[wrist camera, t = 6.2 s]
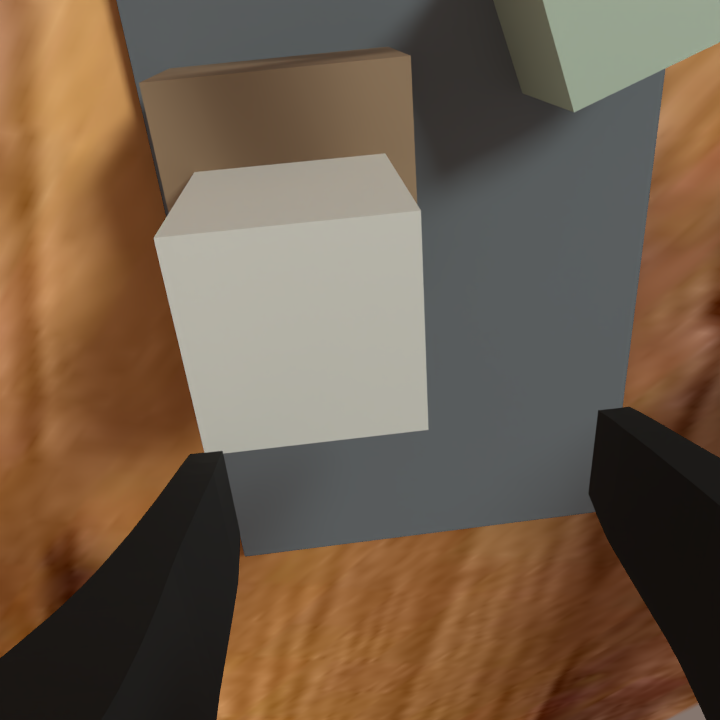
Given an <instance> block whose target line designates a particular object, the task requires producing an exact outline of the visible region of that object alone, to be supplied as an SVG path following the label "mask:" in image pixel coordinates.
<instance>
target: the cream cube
mask: <svg viewBox="0 0 720 720" xmlns="http://www.w3.org/2000/svg"><path fill="white" fill-rule="evenodd" d="M154 242H155V246H156V251H157V255H158V259H159V263H160V267H161V272H162V276H163V280H164V284H165V288H166V293H167V297H168V301H169V305H170V310H171V314H172V318H173V322H174V326H175V331H176V335H177V339H178V343H179V347H180V352H181V356H182V360H183V364H184V369H185V373H186V377H187V381H188V385H189V390H190V394H191V398H192V402H193V406H194V411H195V415H196V419H197V423H198V428H199V432H200V436H201V440H202V444H203V449H204V453H207V452H216V451H223V454H224V453H232V452H241V451H250V450H258V449H267V448H276V447H284V446H293V445H302V444H310V443H319V442H328V441H336V440H345V439H354V438H362V437H371V436H380V435H388V434H397V433H406V432H414V431H423V430H428V402H427V373H426V343H425V314H424V285H423V256H422V227H421V210H420V208H419V207H418V205H417V203H416V202H415V200H414V199H413V197H412V195H411V194H410V192H409V191H408V189H407V187H406V186H405V184H404V183H403V181H402V179H401V178H400V176H399V175H398V173H397V171H396V170H395V168H394V167H393V165H392V163H391V162H390V160H389V159H388V157H387V155H386V154H385V153H384V154H374V155H364V156H354V157H344V158H333V159H323V160H313V161H303V162H293V163H283V164H273V165H262V166H252V167H242V168H232V169H222V170H212V171H201V172H194V173H193V175H192V177H191V178H190V180H189V181H188V183H187V185H186V186H185V188H184V190H183V191H182V193H181V194H180V196H179V198H178V199H177V201H176V202H175V204H174V206H173V207H172V209H171V211H170V212H169V214H168V215H167V217H166V219H165V220H164V222H163V223H162V225H161V227H160V228H159V230H158V231H157V233H156V235H155V236H154Z"/></svg>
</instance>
